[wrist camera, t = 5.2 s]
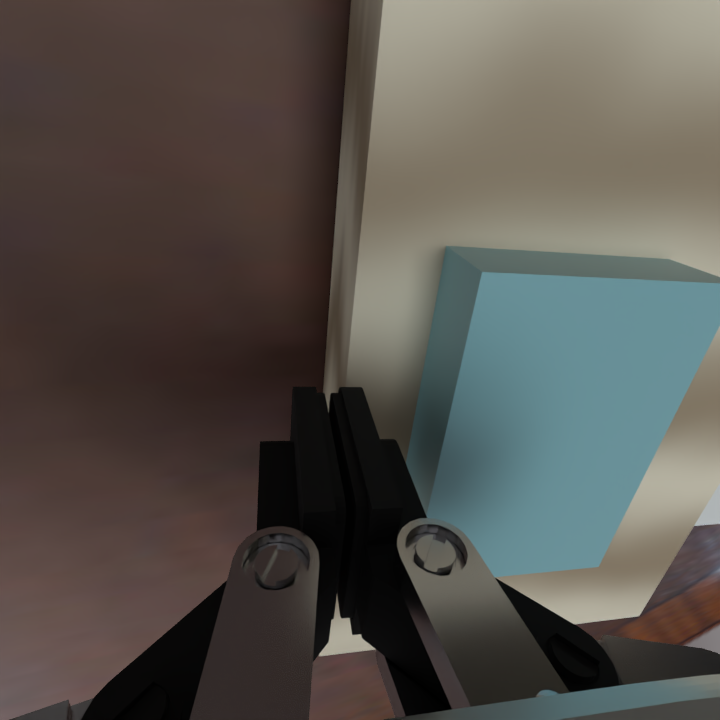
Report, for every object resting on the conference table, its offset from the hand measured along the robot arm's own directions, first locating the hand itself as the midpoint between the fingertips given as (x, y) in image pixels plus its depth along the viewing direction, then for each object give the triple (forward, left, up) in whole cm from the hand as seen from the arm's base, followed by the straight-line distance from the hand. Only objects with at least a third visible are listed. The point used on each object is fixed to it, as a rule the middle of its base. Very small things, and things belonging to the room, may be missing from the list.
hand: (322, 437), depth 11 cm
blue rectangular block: (0, +6, -1) cm, 6 cm away
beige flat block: (0, +8, -5) cm, 9 cm away
